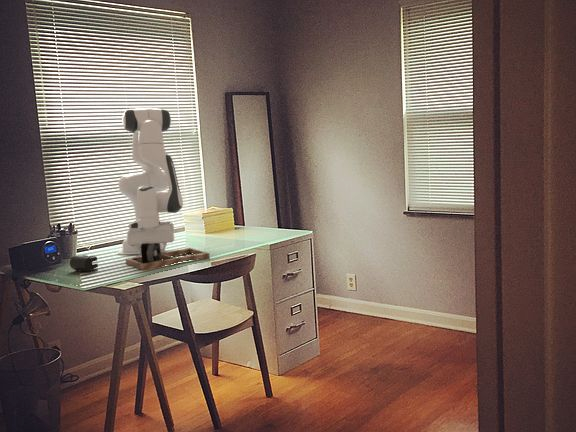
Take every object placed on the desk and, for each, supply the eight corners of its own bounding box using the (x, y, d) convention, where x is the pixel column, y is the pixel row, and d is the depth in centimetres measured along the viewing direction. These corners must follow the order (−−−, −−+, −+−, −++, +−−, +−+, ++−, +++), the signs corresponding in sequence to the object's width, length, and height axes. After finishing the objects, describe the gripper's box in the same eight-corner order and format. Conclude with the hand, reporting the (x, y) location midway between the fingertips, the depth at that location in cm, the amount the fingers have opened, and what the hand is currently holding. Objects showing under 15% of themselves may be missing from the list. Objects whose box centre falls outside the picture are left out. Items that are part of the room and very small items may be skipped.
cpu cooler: (153, 266, 268) (151, 243, 266) (141, 266, 269) (139, 243, 267) (162, 261, 278) (160, 239, 276) (150, 261, 279) (148, 239, 277)
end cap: (70, 272, 266) (68, 257, 265) (83, 268, 272) (82, 253, 271) (85, 274, 261) (84, 258, 260) (99, 270, 267) (97, 255, 266)
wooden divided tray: (142, 270, 260) (142, 264, 260) (126, 263, 277) (125, 258, 277) (209, 258, 278) (209, 253, 278) (190, 252, 294) (189, 247, 294)
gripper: (174, 220, 274) (177, 250, 276) (128, 223, 274) (131, 253, 275) (171, 222, 268) (174, 253, 270) (124, 225, 267) (127, 256, 269)
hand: (152, 253), depth 272 cm, fingers open, 8 cm apart
